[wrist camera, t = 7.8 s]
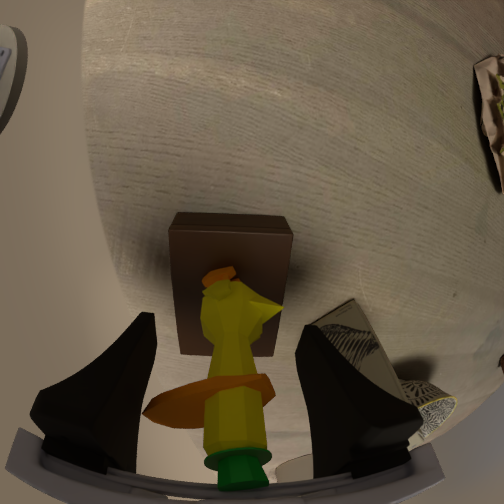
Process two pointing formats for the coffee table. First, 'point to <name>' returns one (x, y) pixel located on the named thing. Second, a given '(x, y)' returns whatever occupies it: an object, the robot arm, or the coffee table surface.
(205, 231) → the brown square plinth
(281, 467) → the canister
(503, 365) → the notched wooden chunk
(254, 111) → the coffee table surface
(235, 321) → the toy figure
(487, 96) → the bear figurine
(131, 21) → the coffee table surface
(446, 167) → the coffee table surface
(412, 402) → the bowl
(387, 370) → the box
